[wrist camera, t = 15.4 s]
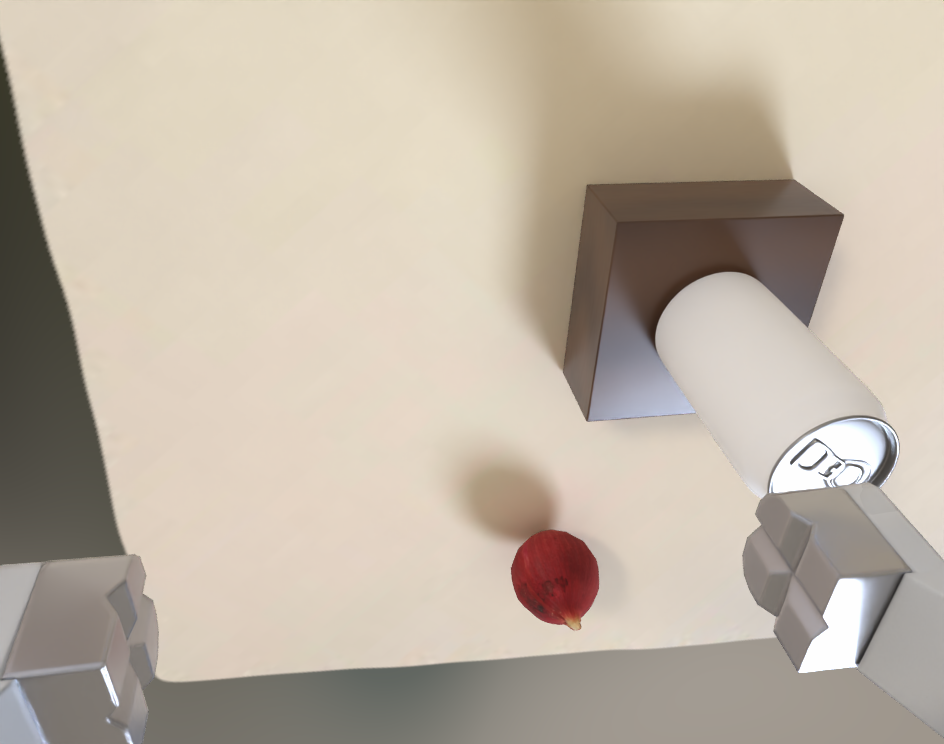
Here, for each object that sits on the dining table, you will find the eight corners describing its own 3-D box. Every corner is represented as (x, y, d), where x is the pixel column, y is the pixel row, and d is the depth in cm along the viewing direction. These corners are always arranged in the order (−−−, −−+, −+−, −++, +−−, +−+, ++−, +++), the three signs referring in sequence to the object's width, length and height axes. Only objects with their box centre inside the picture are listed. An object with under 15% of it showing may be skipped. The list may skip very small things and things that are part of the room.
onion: (492, 563, 57) (517, 657, 50) (513, 503, 54) (542, 596, 47) (567, 565, 58) (600, 657, 52) (591, 507, 55) (630, 597, 49)
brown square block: (586, 184, 42) (617, 222, 37) (794, 179, 44) (845, 214, 40) (562, 372, 48) (586, 422, 44) (743, 360, 50) (782, 407, 46)
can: (709, 390, 44) (823, 547, 35) (627, 342, 42) (726, 498, 32) (792, 302, 42) (940, 445, 32) (711, 245, 39) (847, 383, 29)
